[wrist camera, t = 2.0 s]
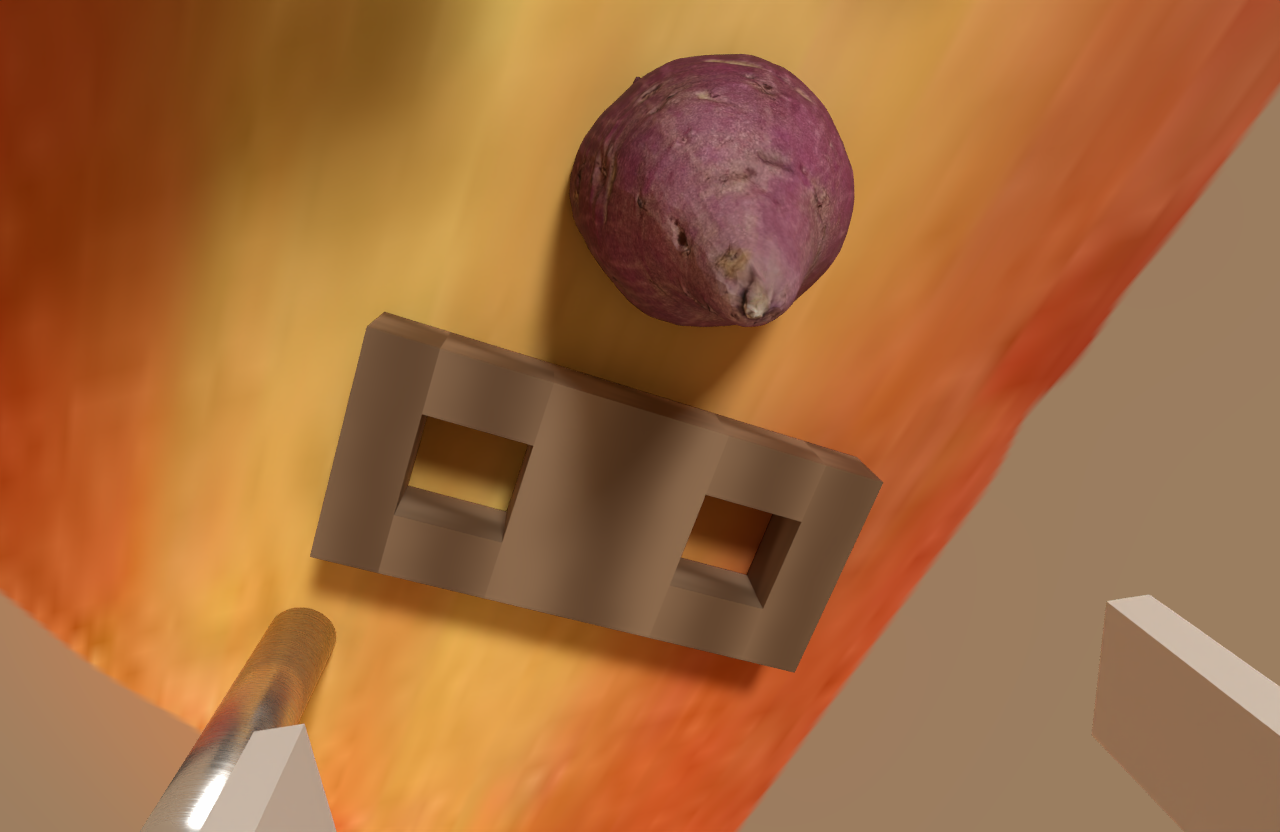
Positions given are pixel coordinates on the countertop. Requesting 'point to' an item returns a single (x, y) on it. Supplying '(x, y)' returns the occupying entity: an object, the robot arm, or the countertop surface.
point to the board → (587, 498)
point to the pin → (248, 714)
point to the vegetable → (714, 191)
